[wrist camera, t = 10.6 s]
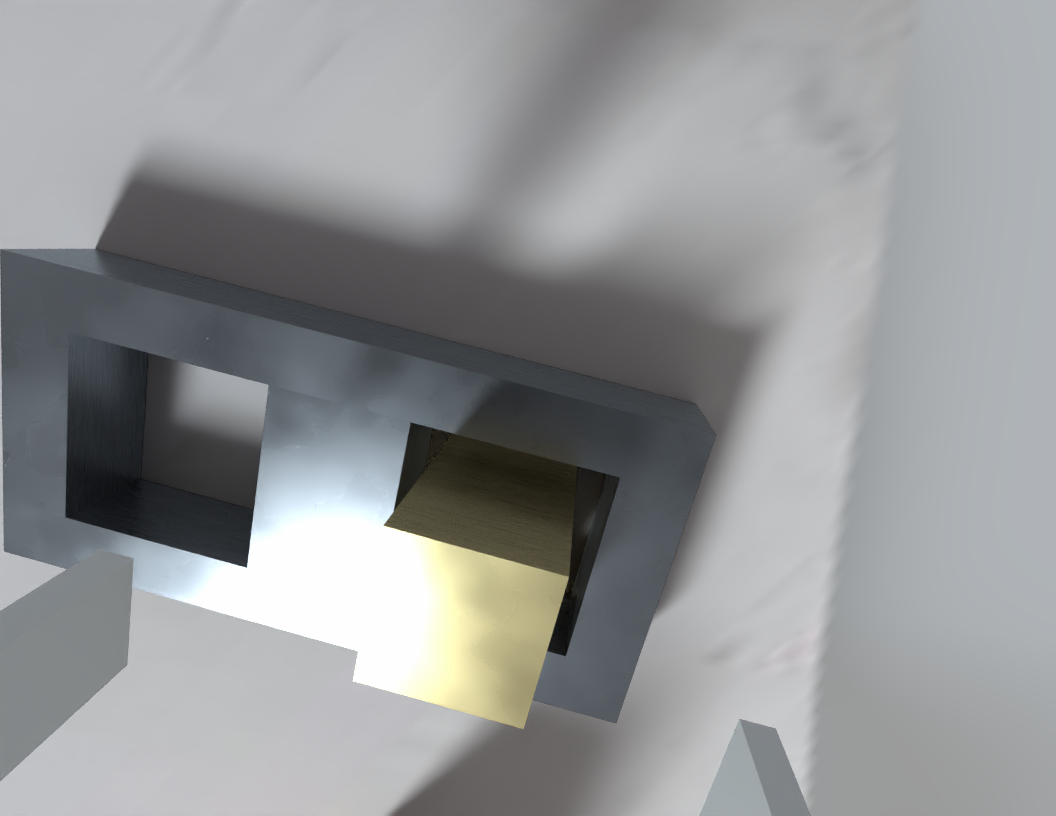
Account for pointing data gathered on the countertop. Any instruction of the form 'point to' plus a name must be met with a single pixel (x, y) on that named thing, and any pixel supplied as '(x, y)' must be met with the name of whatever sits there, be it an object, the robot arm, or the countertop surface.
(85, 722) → the countertop surface
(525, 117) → the countertop surface
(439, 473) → the brass block
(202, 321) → the grey flat slotted block
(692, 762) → the countertop surface
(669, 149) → the countertop surface
